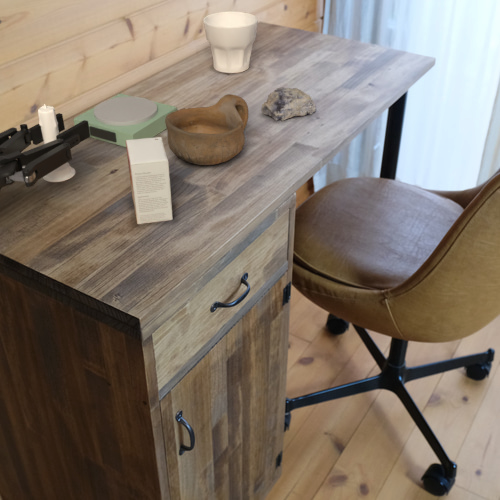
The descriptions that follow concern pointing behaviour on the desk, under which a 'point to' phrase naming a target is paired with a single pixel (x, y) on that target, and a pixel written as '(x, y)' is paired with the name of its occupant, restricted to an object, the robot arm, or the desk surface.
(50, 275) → the desk surface
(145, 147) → the small box
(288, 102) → the mineral specimen
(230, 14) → the cup
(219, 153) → the bowl
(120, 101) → the scale
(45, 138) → the candle
